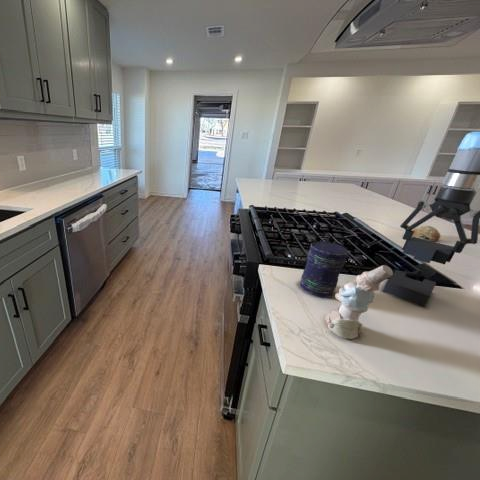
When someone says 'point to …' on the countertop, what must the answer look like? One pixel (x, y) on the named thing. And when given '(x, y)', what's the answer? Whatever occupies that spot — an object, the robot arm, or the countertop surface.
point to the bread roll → (426, 233)
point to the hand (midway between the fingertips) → (425, 254)
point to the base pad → (409, 288)
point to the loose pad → (428, 250)
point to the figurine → (356, 302)
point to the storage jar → (323, 268)
